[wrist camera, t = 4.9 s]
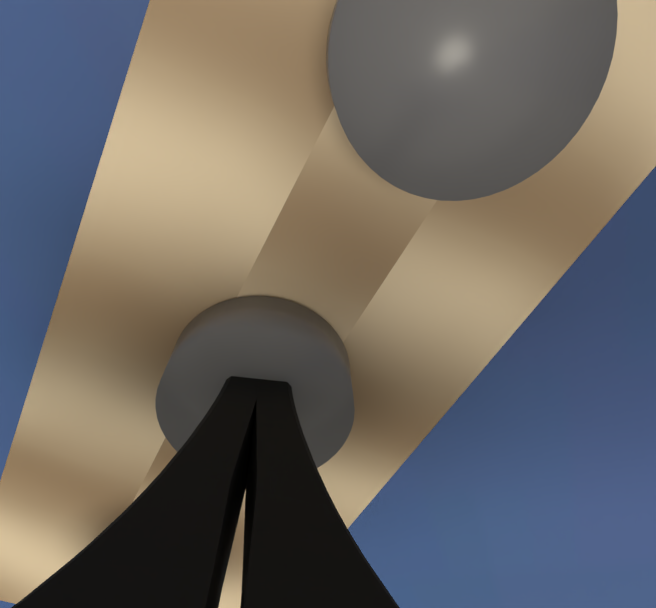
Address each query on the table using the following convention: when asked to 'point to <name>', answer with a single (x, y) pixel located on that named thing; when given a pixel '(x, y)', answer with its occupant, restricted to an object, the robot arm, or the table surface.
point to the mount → (284, 261)
